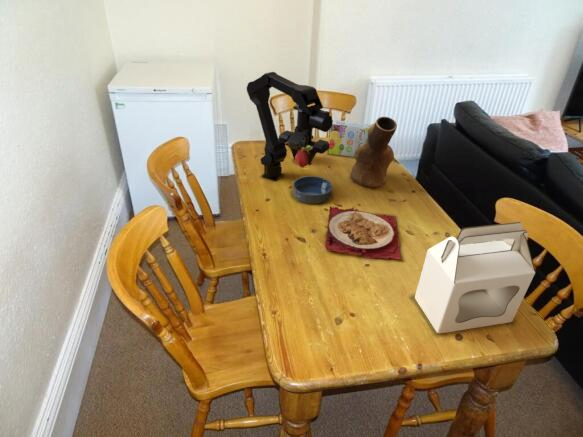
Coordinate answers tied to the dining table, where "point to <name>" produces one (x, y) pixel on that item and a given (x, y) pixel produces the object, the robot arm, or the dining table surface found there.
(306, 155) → the onion
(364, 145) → the ceramic vessel
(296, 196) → the bowl
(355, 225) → the plate with food
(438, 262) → the gable box
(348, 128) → the snack box
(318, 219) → the dining table surface
